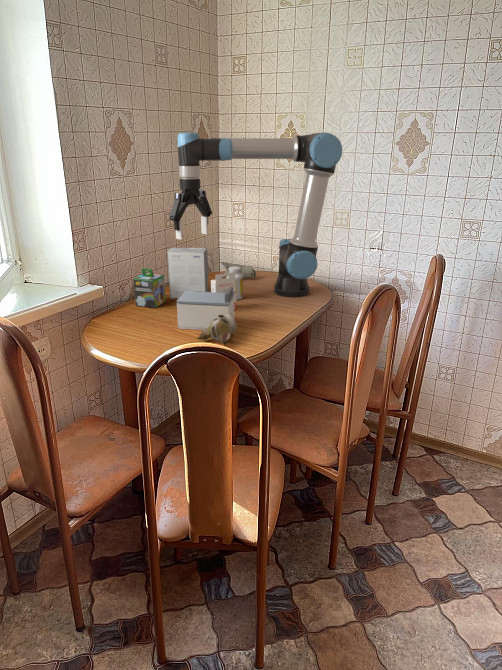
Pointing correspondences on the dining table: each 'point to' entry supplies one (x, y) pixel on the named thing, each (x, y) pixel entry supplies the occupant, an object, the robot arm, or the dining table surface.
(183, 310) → the box
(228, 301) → the lid
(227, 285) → the ink cartridge box
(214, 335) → the ceramic sculpture
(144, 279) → the chalk box
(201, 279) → the hard drive box
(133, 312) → the dining table surface
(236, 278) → the supplement bottle
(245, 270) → the decorative bird
